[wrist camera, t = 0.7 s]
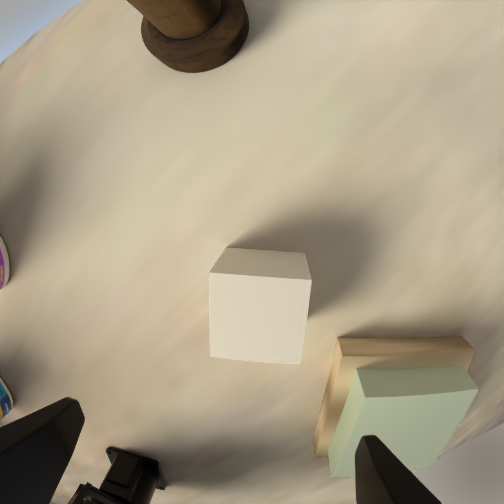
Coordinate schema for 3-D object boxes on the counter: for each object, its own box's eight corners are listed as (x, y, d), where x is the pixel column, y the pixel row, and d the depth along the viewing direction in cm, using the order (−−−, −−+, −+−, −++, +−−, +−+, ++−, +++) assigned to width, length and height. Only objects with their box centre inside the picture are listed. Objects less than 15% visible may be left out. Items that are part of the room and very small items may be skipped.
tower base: (419, 426, 24) (427, 447, 21) (312, 432, 25) (314, 457, 22) (459, 333, 21) (475, 351, 18) (336, 333, 22) (342, 356, 19)
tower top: (421, 443, 21) (430, 467, 18) (327, 450, 21) (330, 477, 19) (462, 365, 18) (479, 388, 15) (356, 368, 19) (365, 397, 16)
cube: (296, 322, 21) (300, 364, 16) (224, 316, 21) (209, 356, 17) (304, 252, 20) (311, 280, 15) (226, 246, 20) (209, 272, 15)
